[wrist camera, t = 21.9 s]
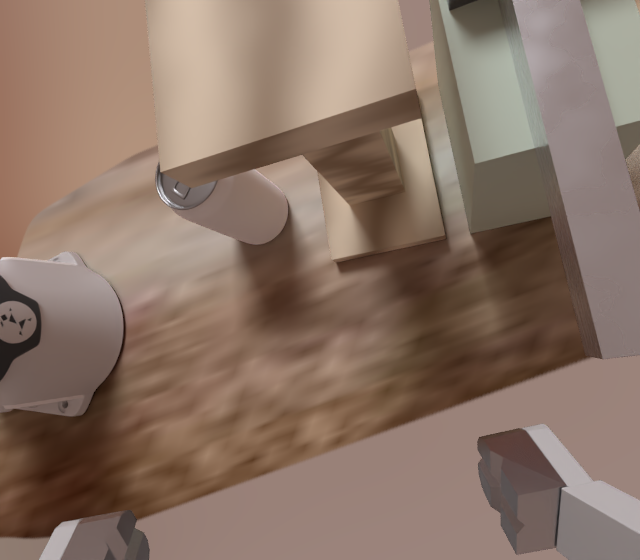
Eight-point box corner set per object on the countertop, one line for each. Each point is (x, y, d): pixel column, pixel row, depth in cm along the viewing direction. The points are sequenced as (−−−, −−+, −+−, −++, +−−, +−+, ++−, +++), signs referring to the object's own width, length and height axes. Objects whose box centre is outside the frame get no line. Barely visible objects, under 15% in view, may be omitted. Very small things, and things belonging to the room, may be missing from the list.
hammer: (527, 362, 19) (538, 368, 16) (434, -55, 22) (430, -111, 19) (718, 339, 17) (770, 341, 14) (582, -117, 20) (601, -190, 17)
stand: (336, 262, 39) (160, 172, 16) (314, 125, 41) (133, -120, 19) (446, 238, 36) (415, 88, 13) (416, 92, 38) (347, -247, 16)
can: (301, 200, 41) (239, 151, 30) (268, 257, 41) (195, 231, 30) (252, 172, 43) (177, 117, 32) (221, 227, 43) (136, 191, 32)
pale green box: (470, 233, 35) (474, 163, 20) (438, 84, 38) (421, -78, 23) (575, 210, 33) (669, 112, 18) (534, 53, 35) (587, -151, 20)
